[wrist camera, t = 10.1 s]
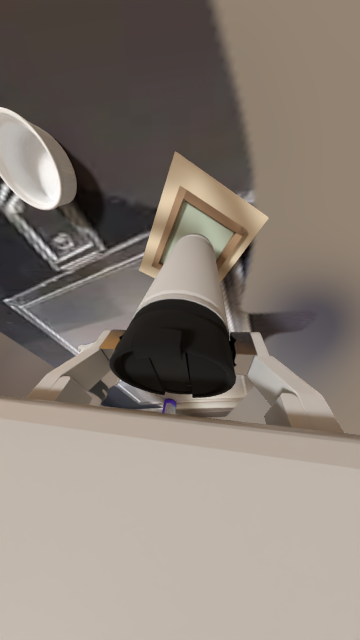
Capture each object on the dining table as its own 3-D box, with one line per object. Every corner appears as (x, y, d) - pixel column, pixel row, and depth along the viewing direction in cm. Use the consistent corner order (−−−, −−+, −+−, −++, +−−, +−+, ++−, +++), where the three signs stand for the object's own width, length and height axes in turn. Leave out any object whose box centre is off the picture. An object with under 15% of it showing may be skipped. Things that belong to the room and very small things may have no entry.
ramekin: (79, 219, 26) (61, 223, 22) (22, 185, 23) (-7, 184, 20) (83, 152, 20) (60, 144, 17) (10, 100, 18) (-33, 79, 15)
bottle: (178, 404, 75) (173, 448, 62) (168, 404, 76) (161, 447, 63) (173, 398, 70) (166, 444, 57) (162, 398, 72) (153, 443, 59)
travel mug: (215, 227, 19) (257, 346, 4) (213, 275, 23) (230, 420, 8) (169, 232, 20) (67, 340, 5) (175, 277, 24) (128, 409, 9)
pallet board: (204, 299, 33) (204, 305, 31) (141, 267, 30) (137, 272, 28) (265, 216, 22) (271, 218, 20) (176, 153, 19) (173, 149, 17)
